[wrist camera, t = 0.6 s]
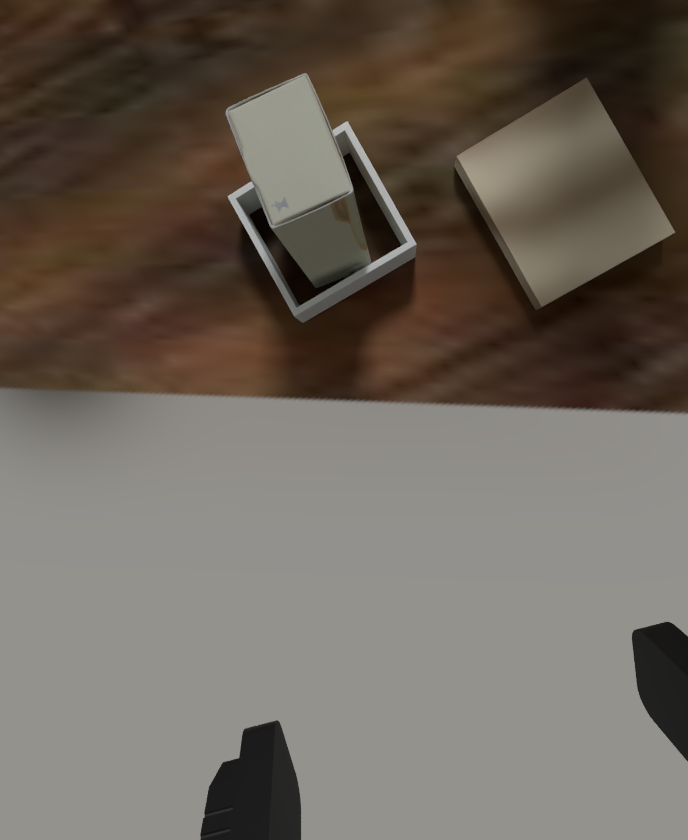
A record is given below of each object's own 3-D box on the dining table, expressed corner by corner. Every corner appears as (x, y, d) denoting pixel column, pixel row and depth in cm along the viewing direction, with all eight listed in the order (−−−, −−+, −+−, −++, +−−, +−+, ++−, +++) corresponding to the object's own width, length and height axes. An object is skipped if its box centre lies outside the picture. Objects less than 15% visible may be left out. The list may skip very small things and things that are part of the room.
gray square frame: (241, 212, 37) (227, 196, 34) (351, 144, 36) (347, 121, 33) (302, 323, 37) (294, 316, 34) (414, 257, 36) (416, 244, 33)
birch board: (454, 166, 35) (456, 156, 34) (578, 91, 34) (586, 77, 33) (535, 310, 35) (541, 306, 34) (663, 239, 34) (675, 232, 32)
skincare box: (373, 266, 36) (360, 198, 24) (315, 291, 37) (272, 237, 24) (339, 178, 36) (307, 65, 24) (280, 204, 37) (221, 106, 24)
